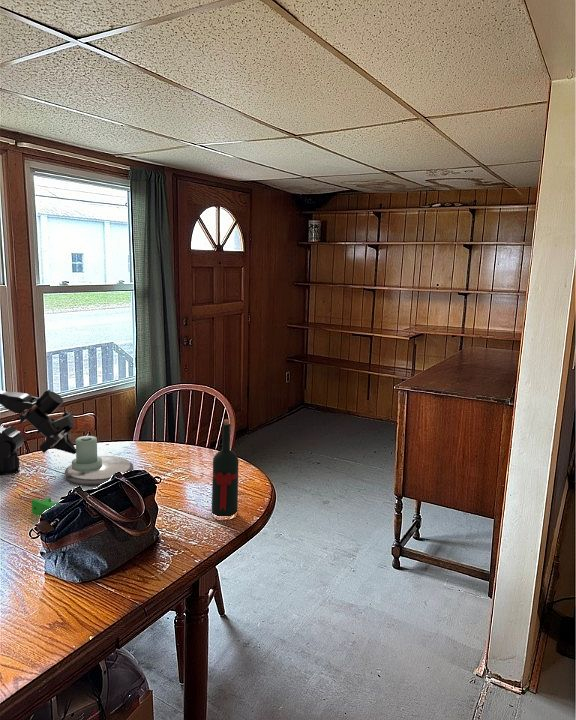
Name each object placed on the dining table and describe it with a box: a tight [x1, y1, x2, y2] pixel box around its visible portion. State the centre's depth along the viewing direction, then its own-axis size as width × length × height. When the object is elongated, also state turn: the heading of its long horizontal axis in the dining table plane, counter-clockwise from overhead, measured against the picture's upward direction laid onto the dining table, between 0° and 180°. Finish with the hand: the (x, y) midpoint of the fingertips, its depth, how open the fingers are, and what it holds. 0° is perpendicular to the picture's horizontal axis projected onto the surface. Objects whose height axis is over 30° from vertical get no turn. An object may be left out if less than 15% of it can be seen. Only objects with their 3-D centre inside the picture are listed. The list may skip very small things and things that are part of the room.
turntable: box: [64, 455, 134, 487], centre depth 183 cm, size 23×23×2 cm
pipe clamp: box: [31, 497, 59, 517], centre depth 151 cm, size 11×4×5 cm, turn 63°
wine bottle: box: [211, 418, 239, 516], centre depth 152 cm, size 8×10×30 cm
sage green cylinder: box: [71, 435, 102, 471], centre depth 182 cm, size 10×10×10 cm
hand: (75, 453), depth 182 cm, fingers closed
